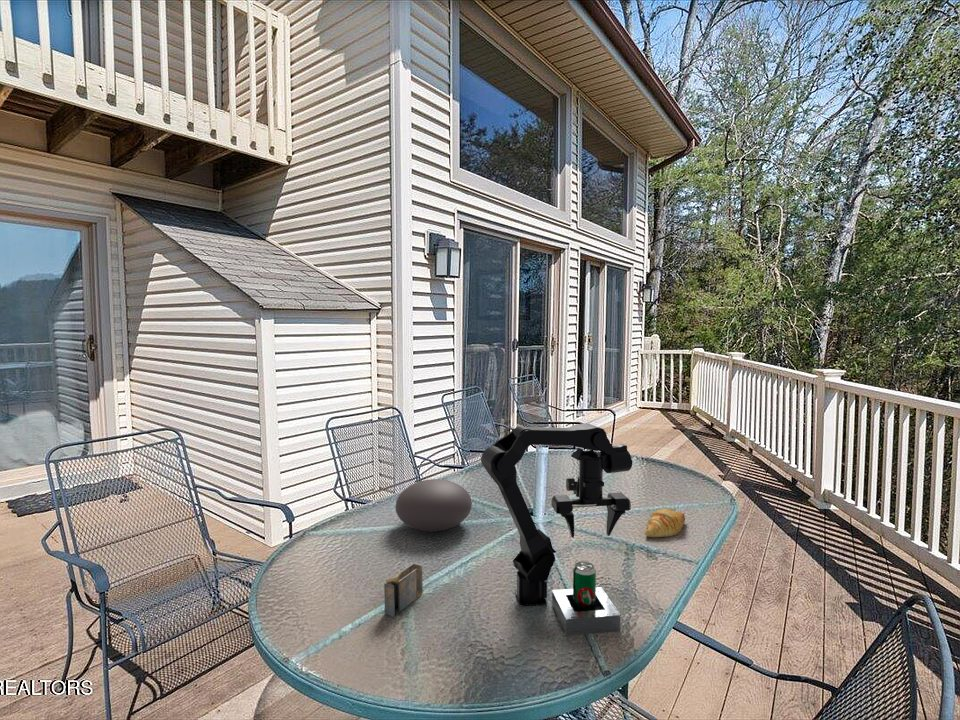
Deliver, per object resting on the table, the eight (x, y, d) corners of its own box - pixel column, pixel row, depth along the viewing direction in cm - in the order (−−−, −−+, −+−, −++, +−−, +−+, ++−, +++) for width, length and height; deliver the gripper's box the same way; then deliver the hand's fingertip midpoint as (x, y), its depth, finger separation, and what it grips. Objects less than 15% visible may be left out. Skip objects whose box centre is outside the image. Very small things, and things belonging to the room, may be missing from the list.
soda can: (579, 607, 121) (579, 558, 120) (599, 615, 118) (599, 564, 117) (568, 617, 117) (569, 566, 116) (588, 625, 114) (589, 573, 113)
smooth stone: (487, 525, 170) (487, 480, 169) (430, 550, 152) (429, 500, 151) (437, 507, 187) (436, 466, 186) (380, 527, 169) (379, 483, 167)
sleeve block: (566, 634, 111) (566, 619, 111) (552, 604, 123) (552, 590, 123) (620, 630, 112) (620, 615, 112) (601, 600, 124) (601, 586, 124)
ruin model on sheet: (395, 619, 118) (394, 577, 117) (384, 615, 119) (384, 574, 119) (424, 595, 128) (423, 557, 127) (414, 592, 129) (413, 554, 129)
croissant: (654, 553, 157) (666, 534, 154) (629, 529, 163) (639, 511, 160) (689, 532, 171) (700, 515, 167) (664, 511, 177) (675, 494, 174)
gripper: (615, 464, 138) (614, 521, 139) (546, 467, 136) (546, 525, 137) (632, 477, 127) (631, 539, 128) (557, 480, 125) (557, 543, 126)
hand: (590, 536), depth 130 cm, fingers open, 9 cm apart
